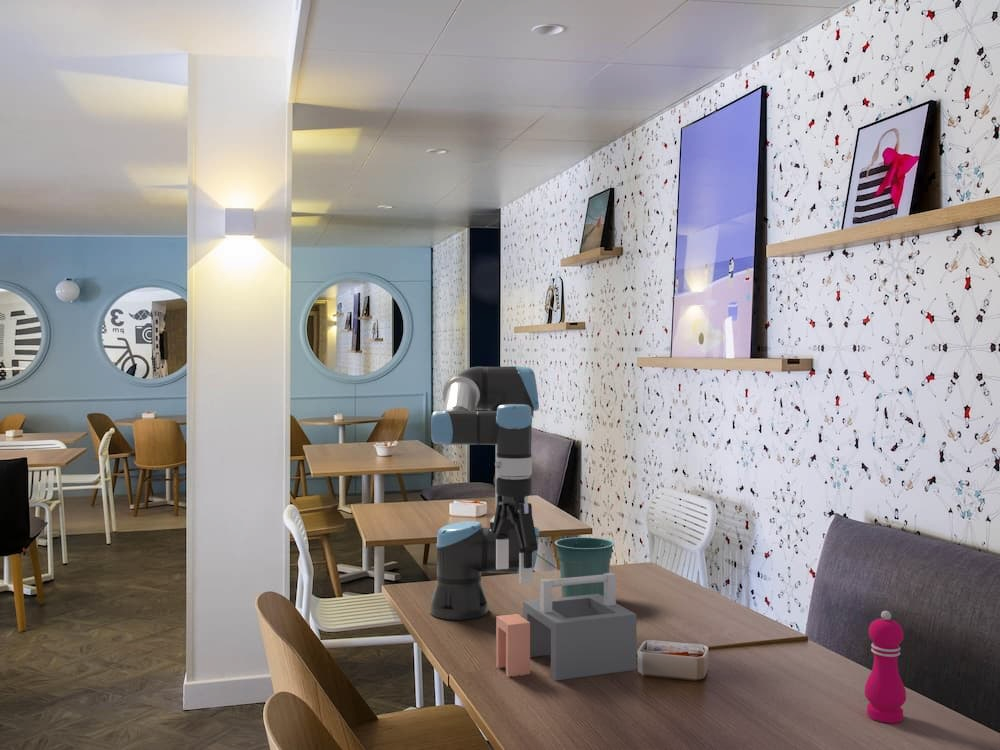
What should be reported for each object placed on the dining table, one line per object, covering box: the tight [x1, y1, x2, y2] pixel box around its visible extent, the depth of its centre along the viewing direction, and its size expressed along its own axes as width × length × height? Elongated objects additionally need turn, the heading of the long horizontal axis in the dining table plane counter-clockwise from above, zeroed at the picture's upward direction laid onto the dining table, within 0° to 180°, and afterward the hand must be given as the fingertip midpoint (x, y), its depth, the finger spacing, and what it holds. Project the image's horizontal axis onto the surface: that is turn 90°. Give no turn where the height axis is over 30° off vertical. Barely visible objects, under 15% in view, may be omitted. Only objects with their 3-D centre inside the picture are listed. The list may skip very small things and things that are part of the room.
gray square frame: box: [522, 572, 638, 682], centre depth 202 cm, size 18×19×19 cm
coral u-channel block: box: [495, 613, 531, 678], centre depth 196 cm, size 7×5×11 cm
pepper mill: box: [864, 610, 907, 724], centre depth 171 cm, size 7×7×20 cm
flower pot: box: [554, 536, 615, 597], centre depth 252 cm, size 16×16×16 cm
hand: (513, 575), depth 196 cm, fingers open, 13 cm apart
